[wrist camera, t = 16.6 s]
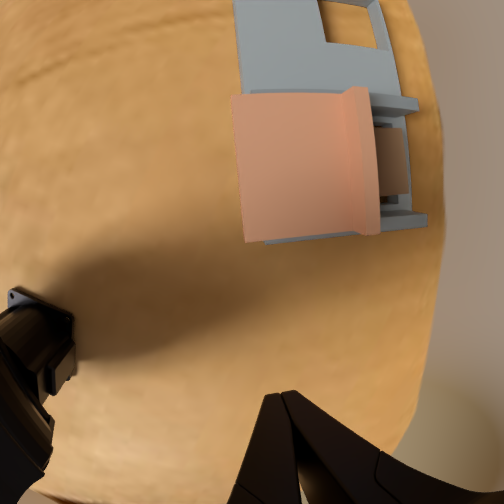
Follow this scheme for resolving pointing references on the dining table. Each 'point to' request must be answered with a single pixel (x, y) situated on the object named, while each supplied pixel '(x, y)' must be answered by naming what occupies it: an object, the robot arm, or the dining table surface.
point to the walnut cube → (391, 161)
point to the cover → (306, 164)
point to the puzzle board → (324, 76)
